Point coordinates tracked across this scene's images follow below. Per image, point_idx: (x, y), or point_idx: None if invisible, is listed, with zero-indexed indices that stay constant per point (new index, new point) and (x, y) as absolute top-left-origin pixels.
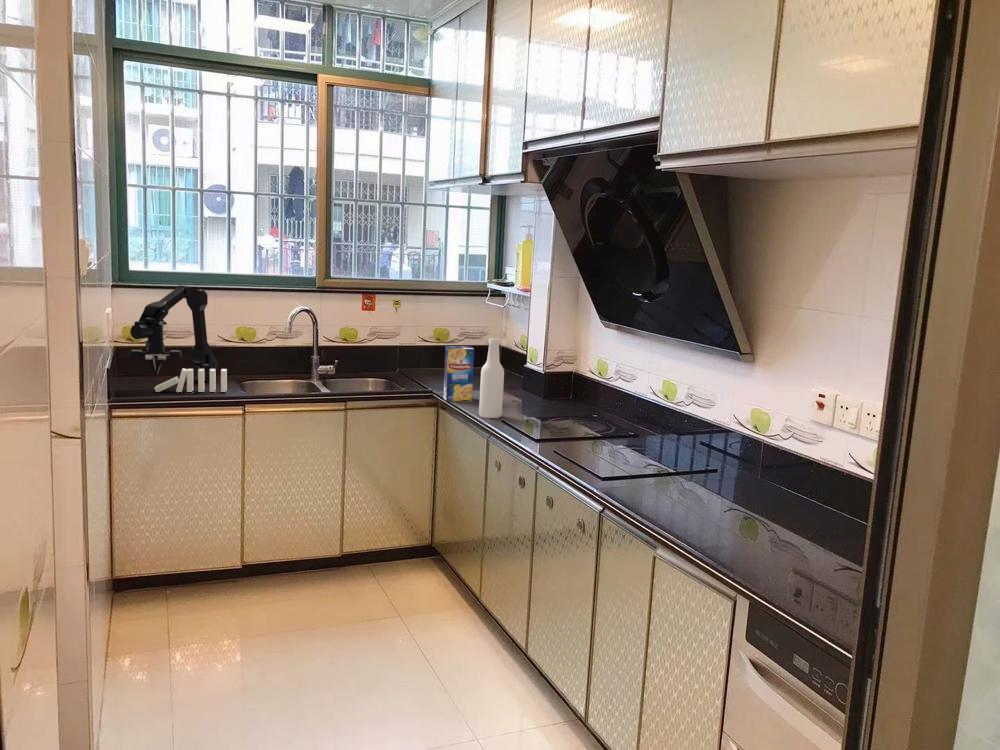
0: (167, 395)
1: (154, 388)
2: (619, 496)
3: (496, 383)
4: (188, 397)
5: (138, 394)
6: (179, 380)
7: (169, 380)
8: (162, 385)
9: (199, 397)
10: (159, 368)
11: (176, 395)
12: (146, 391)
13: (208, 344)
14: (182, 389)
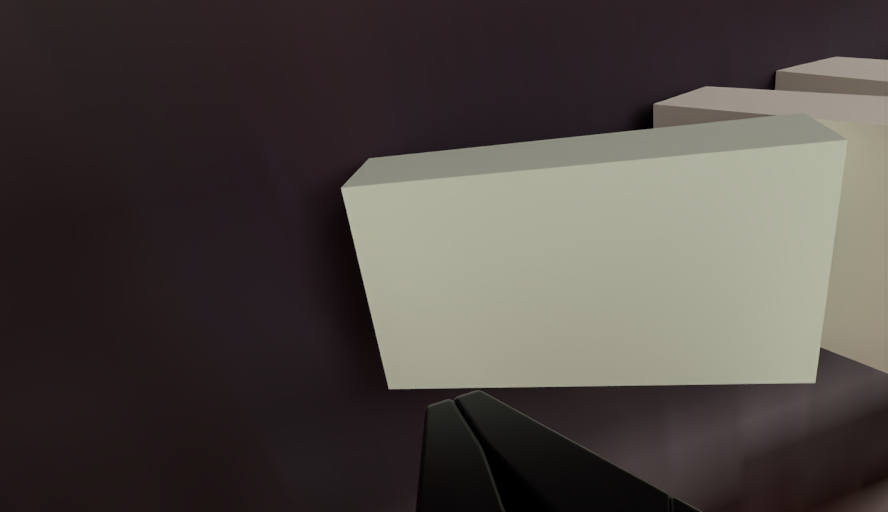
0: (574, 437)
1: (394, 388)
2: None
3: None
4: (776, 452)
5: (203, 506)
6: (835, 345)
7: (661, 271)
8: (531, 379)
9: (863, 419)
10: (636, 504)
11: (665, 406)
12: (213, 283)
13: None
14: (721, 92)
